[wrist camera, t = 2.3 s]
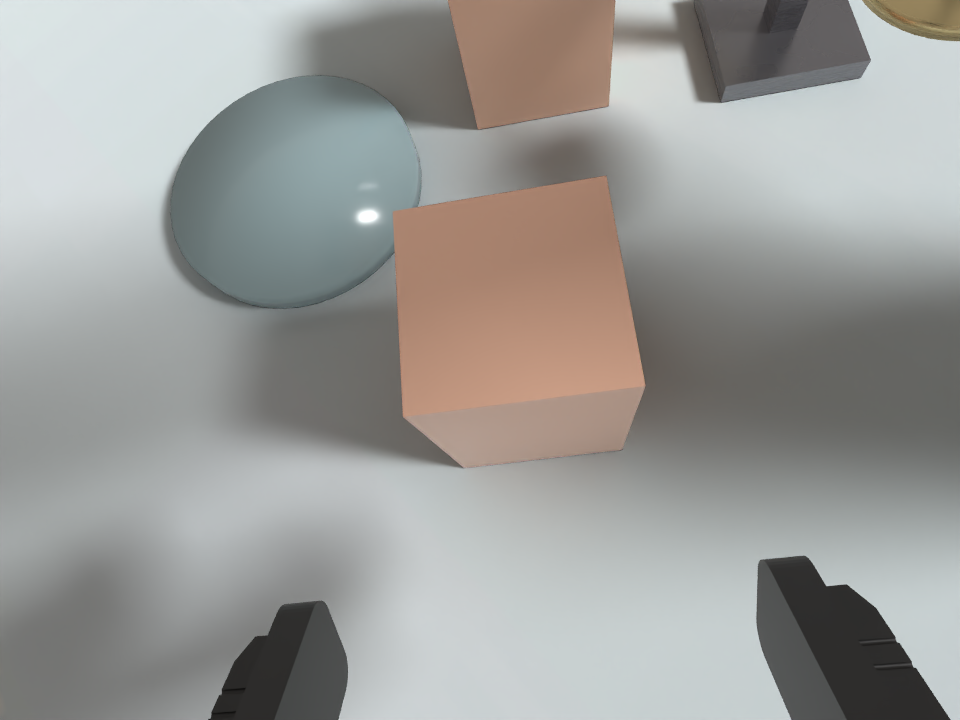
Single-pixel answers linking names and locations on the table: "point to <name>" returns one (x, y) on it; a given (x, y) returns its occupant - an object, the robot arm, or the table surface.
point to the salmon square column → (534, 56)
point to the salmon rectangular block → (517, 325)
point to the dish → (295, 191)
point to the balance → (804, 40)
